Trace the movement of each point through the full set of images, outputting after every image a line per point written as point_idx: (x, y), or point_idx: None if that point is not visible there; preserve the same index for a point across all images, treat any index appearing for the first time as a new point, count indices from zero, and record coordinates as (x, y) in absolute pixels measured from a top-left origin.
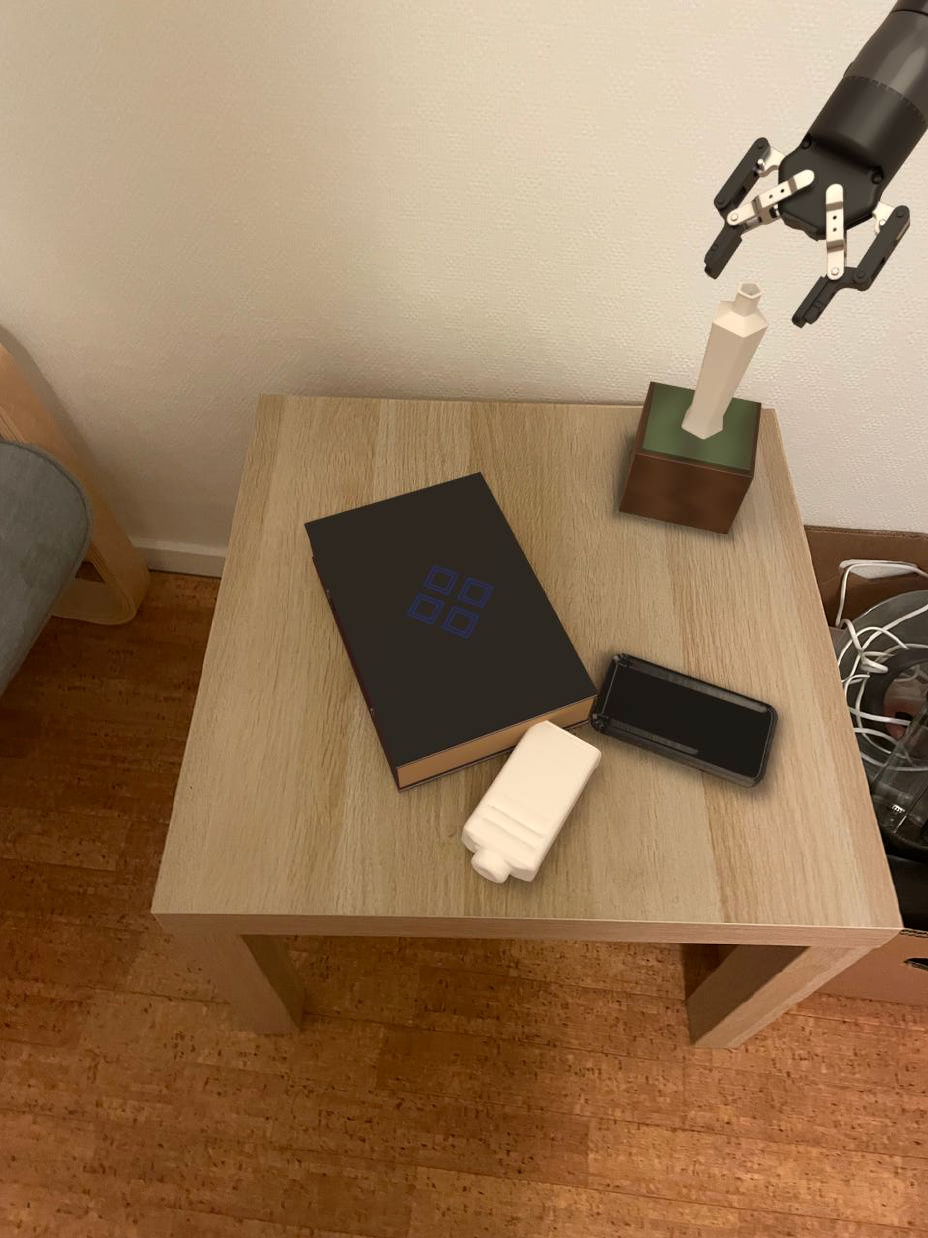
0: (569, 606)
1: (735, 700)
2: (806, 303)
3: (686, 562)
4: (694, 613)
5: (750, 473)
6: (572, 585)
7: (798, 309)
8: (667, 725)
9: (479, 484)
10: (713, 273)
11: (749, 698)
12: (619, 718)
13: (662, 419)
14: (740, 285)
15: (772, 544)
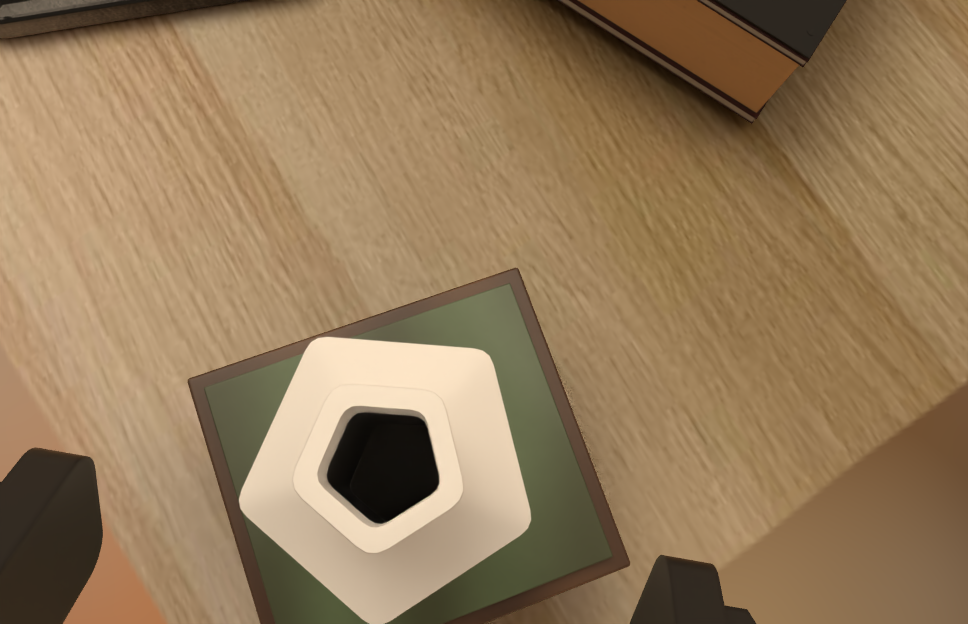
0: (456, 42)
1: (59, 2)
2: (3, 523)
3: (295, 276)
4: (223, 165)
5: (201, 388)
6: (478, 88)
7: (52, 487)
8: None
9: (786, 24)
10: (649, 586)
11: (33, 15)
12: None
13: (515, 417)
14: (445, 455)
15: (136, 443)
